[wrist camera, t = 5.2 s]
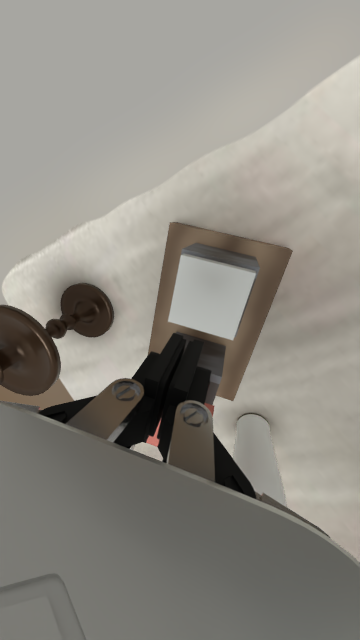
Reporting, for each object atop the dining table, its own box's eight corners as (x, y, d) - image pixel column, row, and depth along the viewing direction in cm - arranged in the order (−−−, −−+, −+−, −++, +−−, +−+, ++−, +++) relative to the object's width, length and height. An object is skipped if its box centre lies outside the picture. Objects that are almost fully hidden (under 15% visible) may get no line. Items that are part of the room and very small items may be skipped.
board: (287, 248, 28) (309, 260, 19) (233, 388, 37) (231, 440, 28) (176, 222, 30) (148, 222, 21) (151, 361, 39) (124, 403, 30)
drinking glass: (225, 413, 39) (216, 512, 26) (264, 404, 37) (277, 509, 23) (241, 442, 41) (241, 550, 28) (280, 436, 38) (301, 550, 25)
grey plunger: (252, 259, 26) (256, 273, 19) (235, 310, 29) (233, 340, 22) (197, 246, 27) (181, 254, 20) (186, 297, 30) (167, 321, 22)
